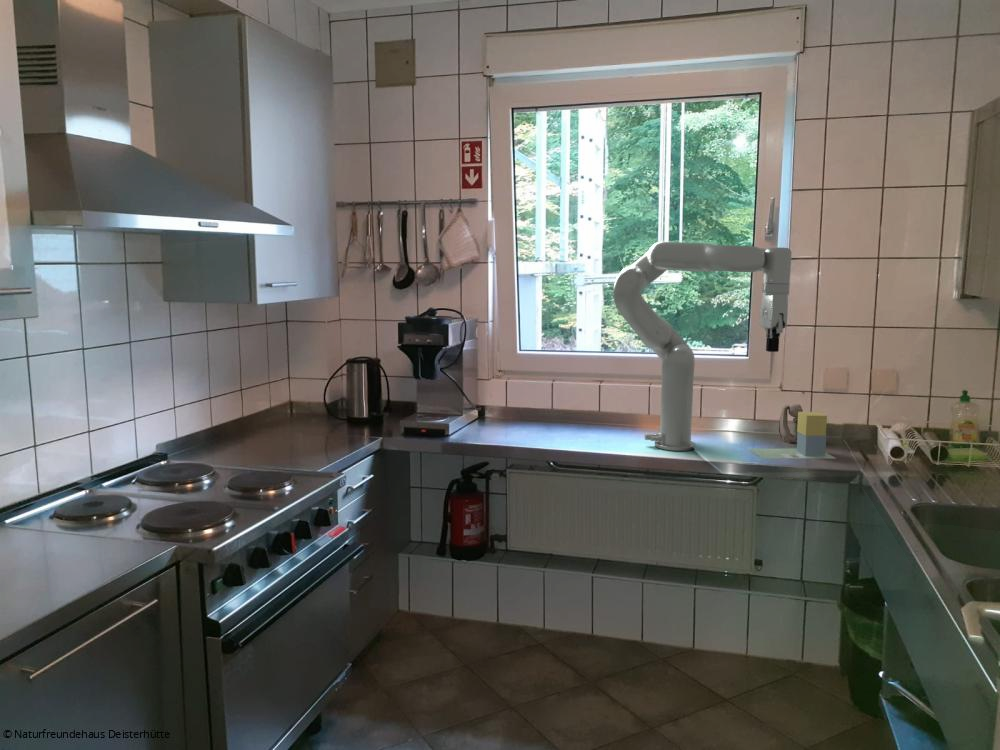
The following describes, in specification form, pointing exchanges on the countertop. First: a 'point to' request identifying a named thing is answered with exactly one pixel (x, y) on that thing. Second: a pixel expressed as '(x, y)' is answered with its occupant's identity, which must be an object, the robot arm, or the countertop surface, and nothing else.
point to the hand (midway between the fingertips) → (772, 351)
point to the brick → (812, 423)
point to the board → (785, 454)
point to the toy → (783, 422)
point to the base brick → (811, 445)
